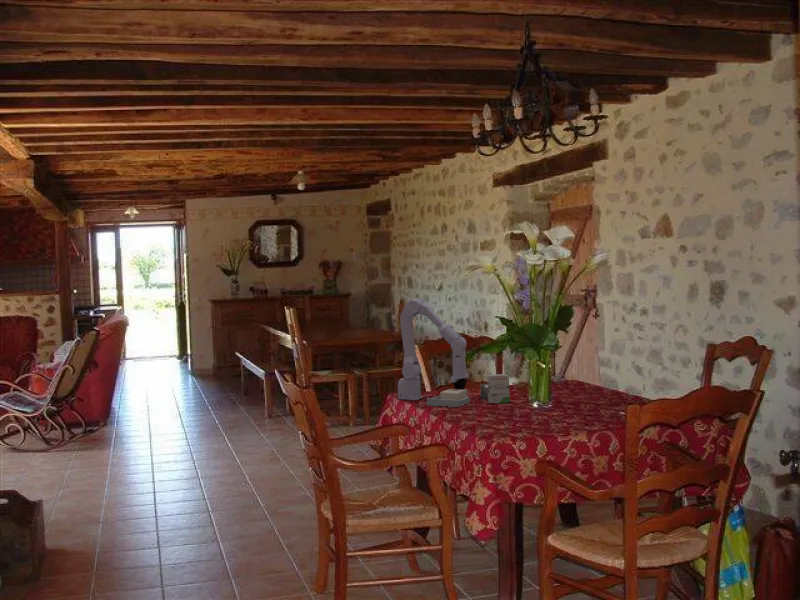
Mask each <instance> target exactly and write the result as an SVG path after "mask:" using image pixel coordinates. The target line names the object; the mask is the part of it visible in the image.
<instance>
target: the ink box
mask: <svg viewBox="0 0 800 600" xmlns="http://www.w3.org/2000/svg"><path fill="white" fill-rule="evenodd" d="M487 384H488V400H487V402H488V403H489V404H490V403H495V404H510V403H511V395H510V375H508V374H507V373H504V374H502V373H501V374H487Z"/></svg>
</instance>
